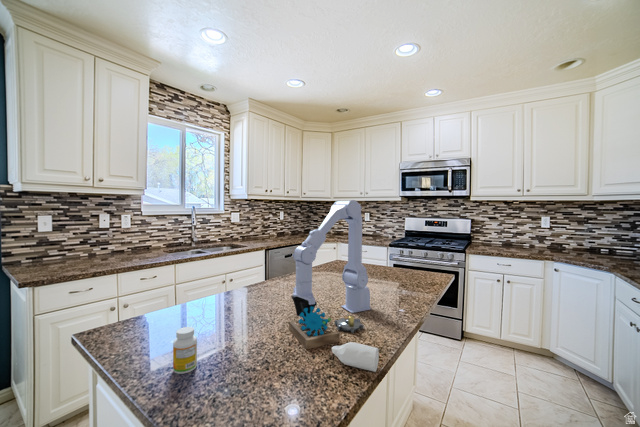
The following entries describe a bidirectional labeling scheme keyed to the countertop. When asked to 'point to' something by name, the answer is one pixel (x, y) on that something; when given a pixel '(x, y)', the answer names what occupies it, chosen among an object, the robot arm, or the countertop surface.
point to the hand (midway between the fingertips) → (303, 318)
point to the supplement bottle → (185, 351)
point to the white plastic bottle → (358, 355)
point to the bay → (313, 341)
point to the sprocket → (349, 324)
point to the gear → (314, 321)
